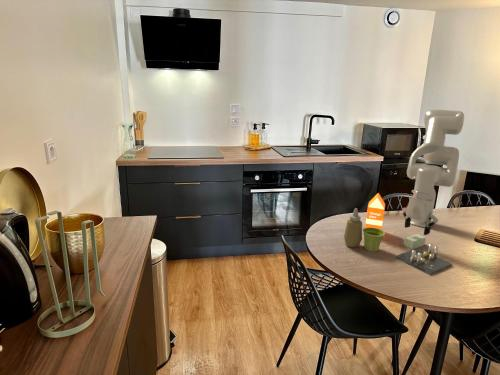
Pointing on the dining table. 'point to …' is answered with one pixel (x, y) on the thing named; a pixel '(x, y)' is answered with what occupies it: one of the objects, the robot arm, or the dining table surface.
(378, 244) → the plant pot
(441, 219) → the dining table surface
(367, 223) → the orange juice
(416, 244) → the pale green block
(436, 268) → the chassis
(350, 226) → the squeeze bottle
